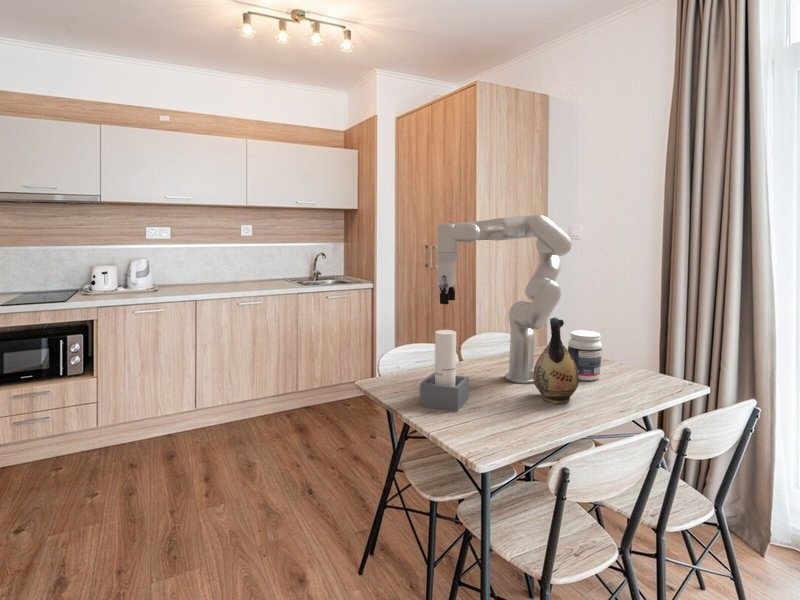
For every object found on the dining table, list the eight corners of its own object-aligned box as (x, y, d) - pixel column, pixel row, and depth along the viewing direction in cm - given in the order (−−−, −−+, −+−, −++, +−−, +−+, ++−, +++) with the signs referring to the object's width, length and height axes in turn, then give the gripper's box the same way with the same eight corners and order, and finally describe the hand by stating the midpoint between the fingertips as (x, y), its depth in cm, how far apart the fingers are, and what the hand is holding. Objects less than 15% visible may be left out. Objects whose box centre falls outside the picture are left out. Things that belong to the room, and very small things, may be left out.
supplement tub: (564, 371, 208) (566, 329, 205) (595, 373, 206) (598, 330, 203) (569, 380, 195) (572, 335, 193) (603, 382, 193) (606, 337, 191)
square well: (468, 398, 174) (468, 377, 173) (457, 411, 162) (458, 388, 161) (432, 393, 180) (433, 372, 179) (419, 405, 167) (420, 383, 166)
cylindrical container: (454, 406, 167) (455, 334, 163) (433, 404, 168) (434, 333, 165) (455, 399, 174) (456, 330, 170) (435, 397, 175) (436, 329, 172)
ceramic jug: (535, 389, 185) (538, 311, 180) (578, 395, 179) (583, 314, 174) (528, 404, 169) (532, 319, 165) (576, 411, 163) (581, 322, 159)
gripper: (443, 255, 192) (444, 298, 195) (431, 258, 176) (431, 305, 179) (462, 255, 190) (462, 299, 192) (451, 258, 174) (451, 306, 176)
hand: (447, 302), depth 186 cm, fingers open, 9 cm apart
